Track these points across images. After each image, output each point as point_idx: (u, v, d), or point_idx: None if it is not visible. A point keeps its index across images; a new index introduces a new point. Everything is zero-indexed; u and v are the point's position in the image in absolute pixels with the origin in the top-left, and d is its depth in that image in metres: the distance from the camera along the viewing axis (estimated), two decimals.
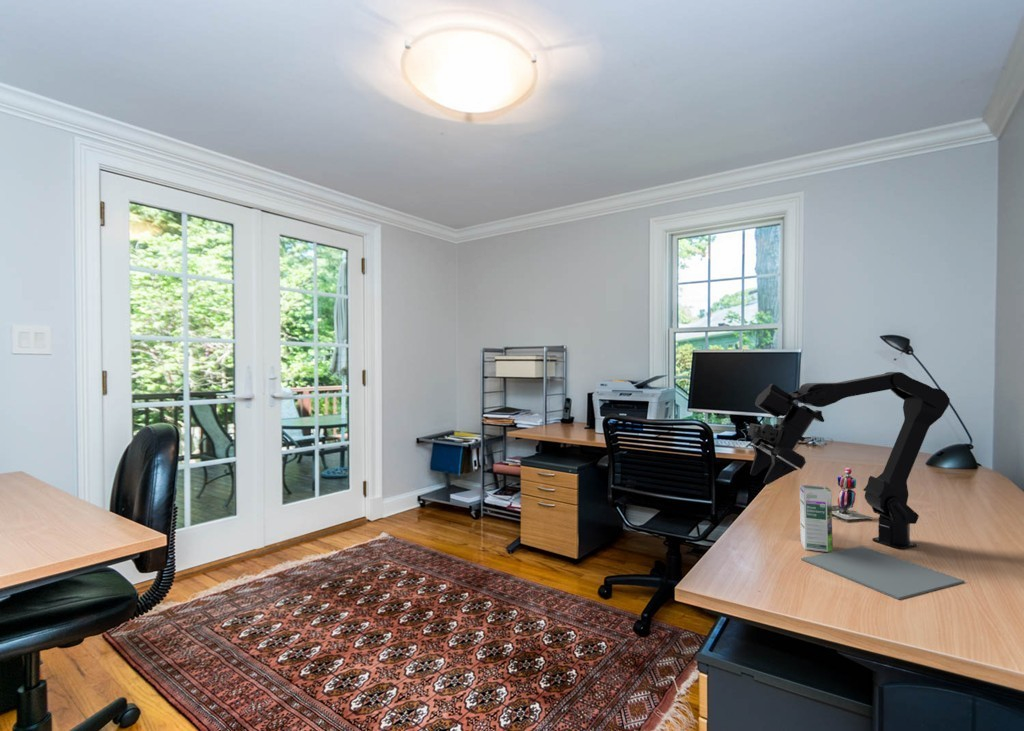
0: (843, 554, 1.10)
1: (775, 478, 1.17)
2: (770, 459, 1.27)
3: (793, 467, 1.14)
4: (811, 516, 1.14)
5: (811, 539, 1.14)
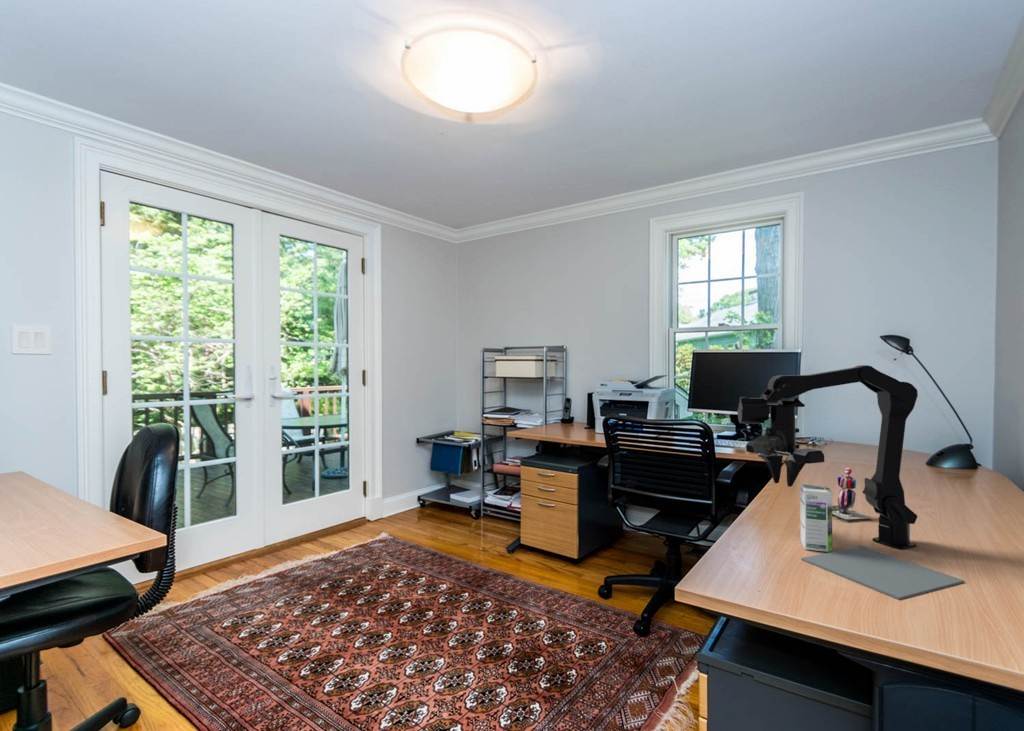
0: (843, 554, 1.10)
1: (795, 477, 1.22)
2: (780, 459, 1.27)
3: None
4: (811, 517, 1.14)
5: (811, 539, 1.14)
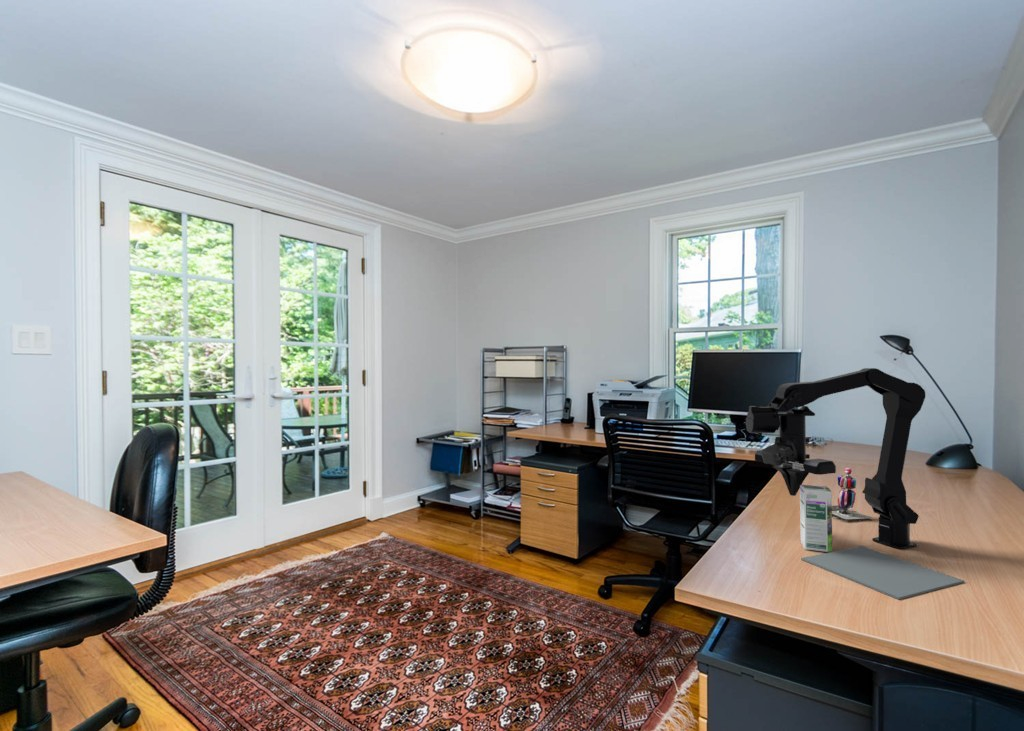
0: (843, 554, 1.10)
1: (799, 486, 1.21)
2: None
3: None
4: (811, 516, 1.14)
5: (811, 539, 1.14)
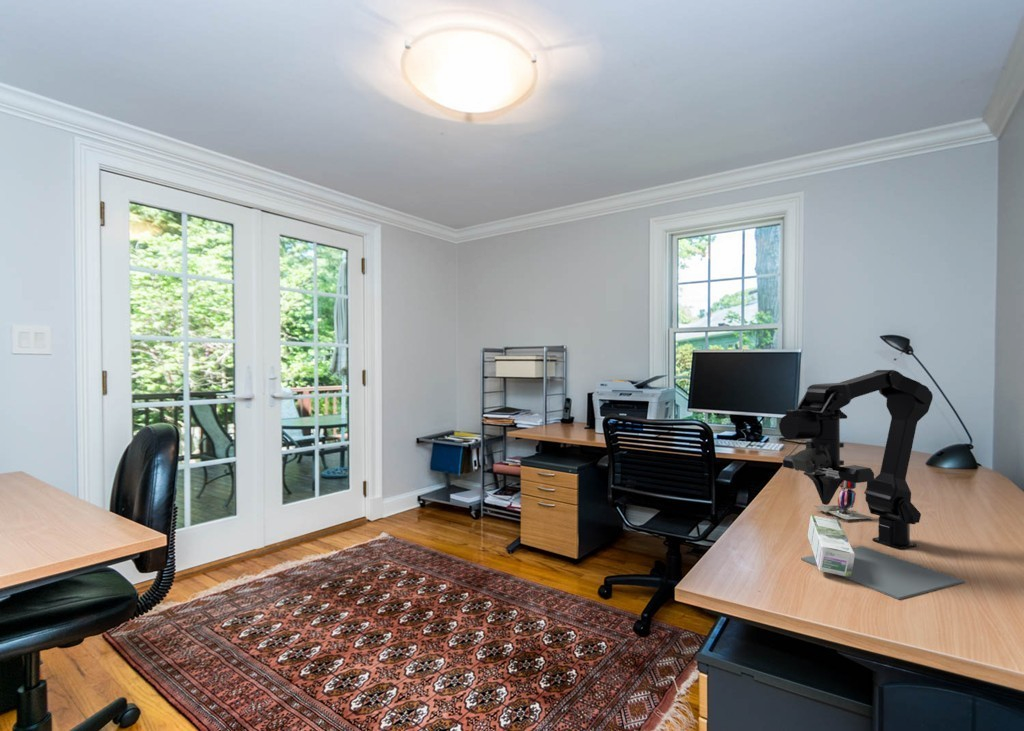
0: None
1: (832, 495, 1.13)
2: None
3: None
4: None
5: None
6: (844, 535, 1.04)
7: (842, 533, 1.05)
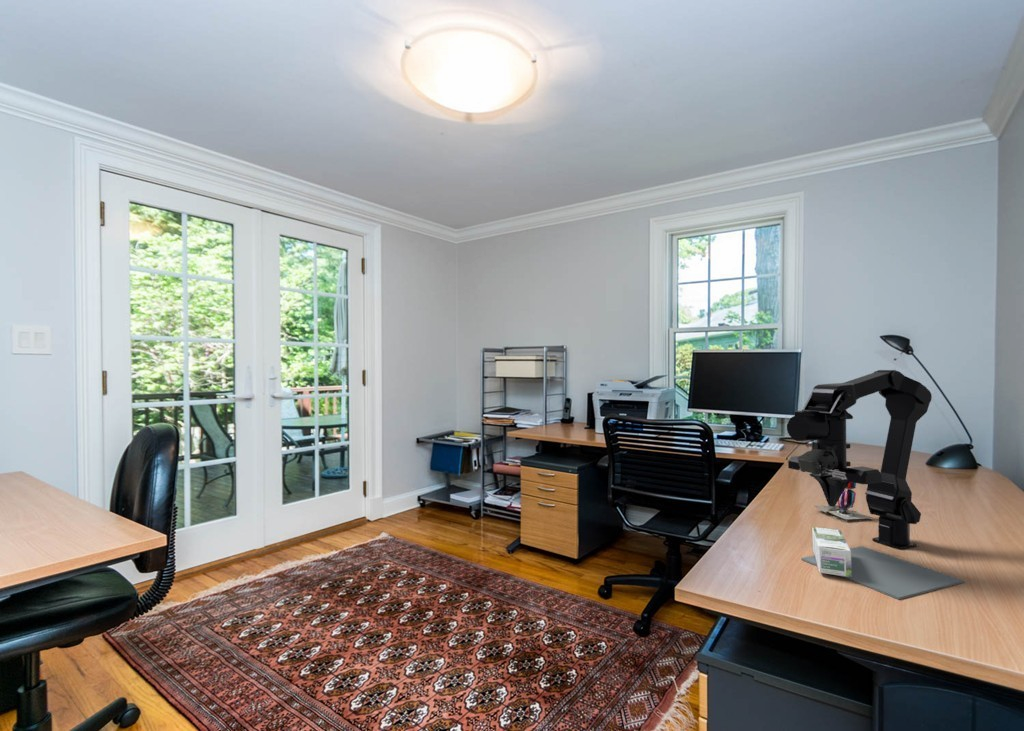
0: None
1: (839, 496, 1.12)
2: None
3: None
4: None
5: None
6: (843, 539, 1.04)
7: (841, 537, 1.05)
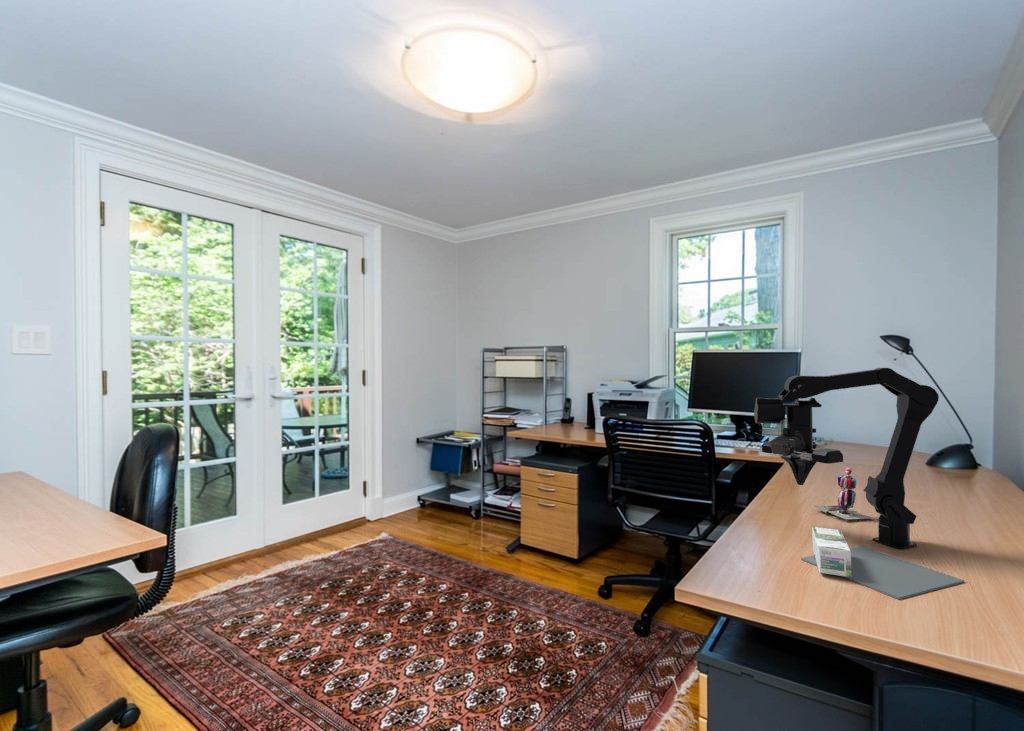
0: None
1: (806, 476, 1.24)
2: None
3: None
4: None
5: None
6: (843, 539, 1.04)
7: (841, 537, 1.05)
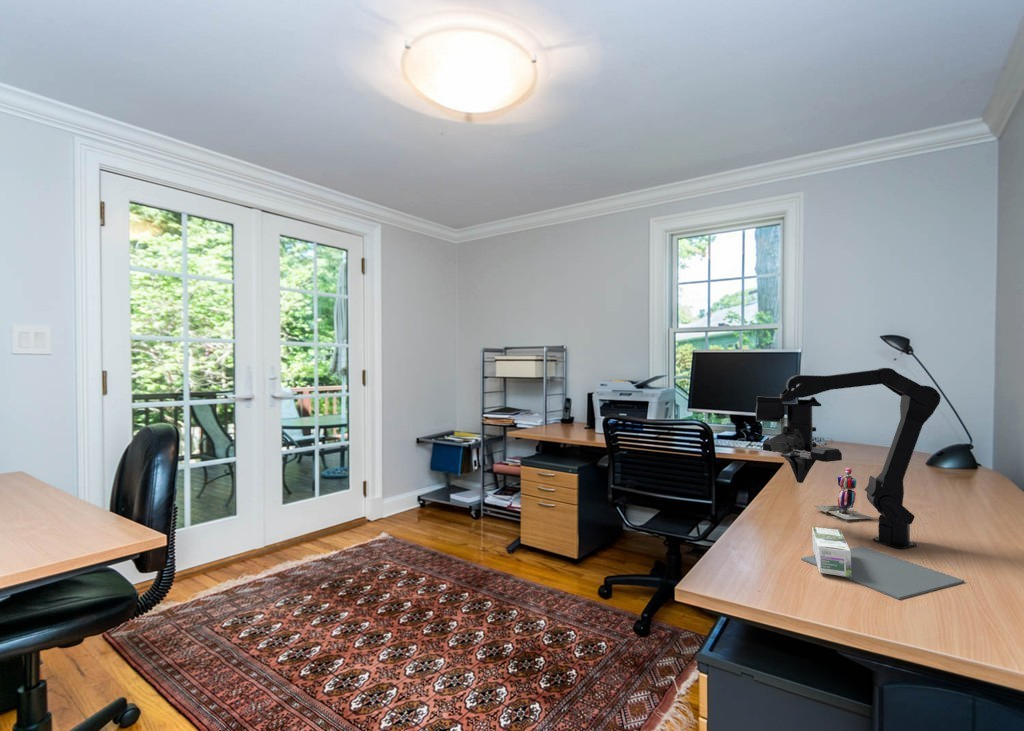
0: None
1: (806, 474, 1.26)
2: None
3: None
4: None
5: None
6: (843, 539, 1.04)
7: (841, 537, 1.05)
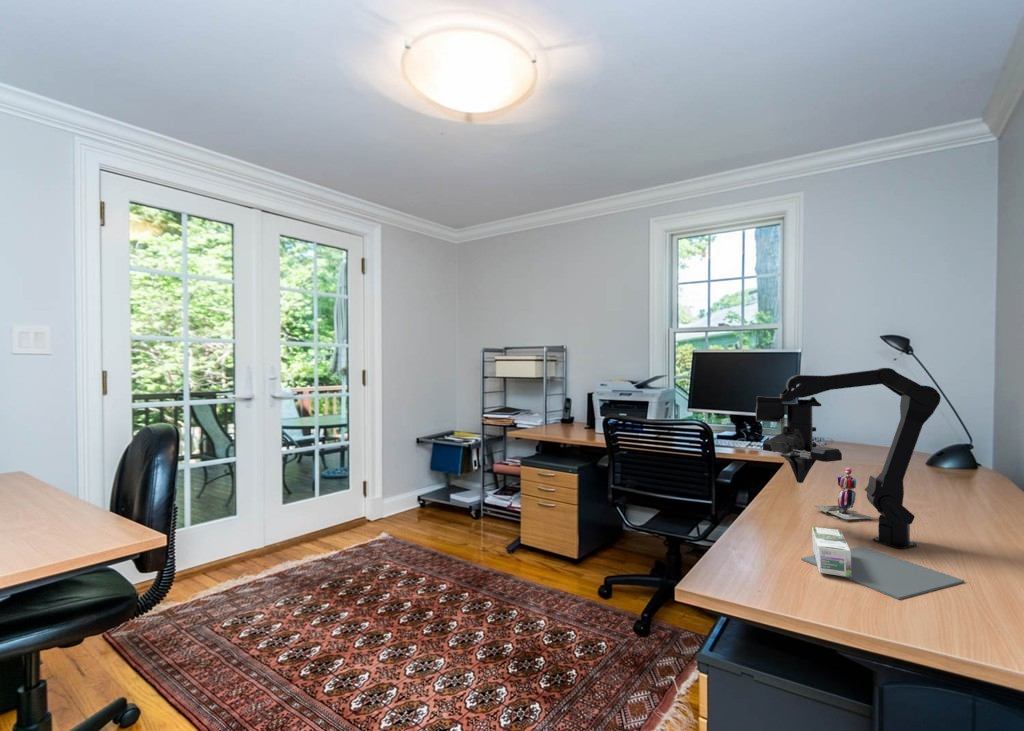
0: None
1: (806, 474, 1.26)
2: None
3: None
4: None
5: None
6: (843, 539, 1.04)
7: (841, 537, 1.05)
